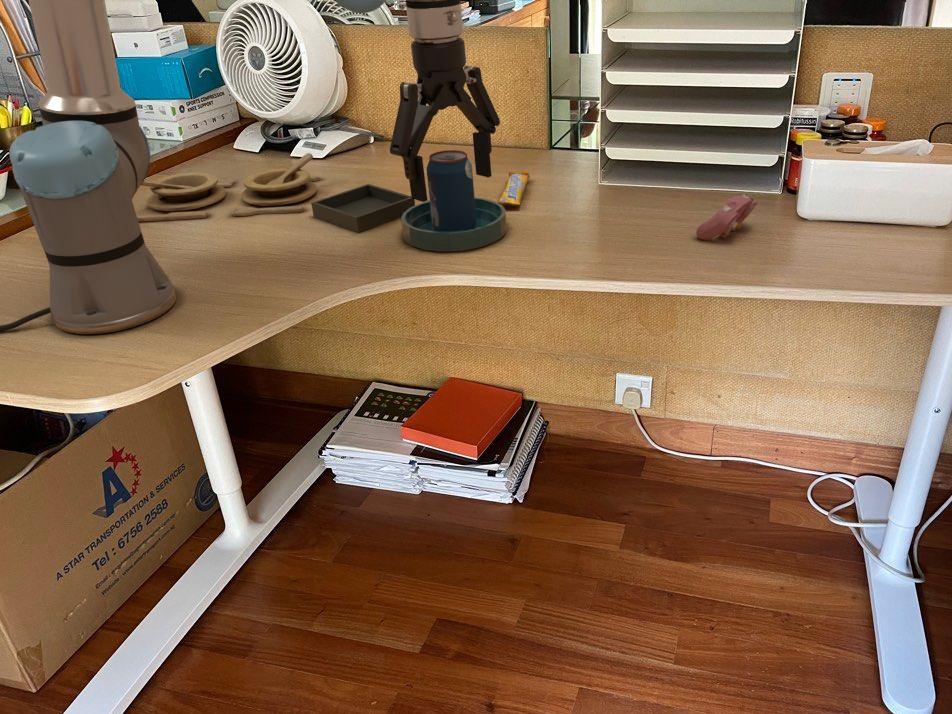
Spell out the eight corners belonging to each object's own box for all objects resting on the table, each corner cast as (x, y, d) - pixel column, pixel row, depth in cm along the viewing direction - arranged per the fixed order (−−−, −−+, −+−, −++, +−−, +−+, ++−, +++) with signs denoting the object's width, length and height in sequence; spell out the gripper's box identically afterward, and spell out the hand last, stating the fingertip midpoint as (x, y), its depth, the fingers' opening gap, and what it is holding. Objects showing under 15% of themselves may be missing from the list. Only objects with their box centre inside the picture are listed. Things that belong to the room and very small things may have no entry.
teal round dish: (454, 261, 123) (452, 241, 121) (382, 237, 132) (379, 217, 130) (527, 229, 133) (527, 209, 131) (456, 208, 142) (454, 190, 140)
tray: (358, 232, 134) (356, 217, 133) (313, 217, 141) (310, 202, 140) (416, 211, 142) (414, 197, 140) (370, 197, 149) (368, 183, 147)
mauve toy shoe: (714, 253, 126) (738, 217, 121) (691, 235, 127) (713, 199, 122) (743, 233, 132) (767, 198, 127) (721, 216, 133) (743, 180, 128)
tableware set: (132, 223, 142) (121, 188, 139) (167, 186, 158) (158, 154, 155) (309, 212, 143) (302, 178, 140) (325, 177, 160) (319, 145, 156)
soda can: (485, 227, 133) (479, 151, 127) (462, 242, 128) (455, 164, 122) (448, 221, 136) (441, 147, 130) (424, 235, 131) (415, 159, 125)
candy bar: (508, 180, 154) (508, 169, 153) (531, 180, 154) (530, 169, 153) (495, 211, 140) (494, 200, 139) (519, 211, 140) (519, 200, 139)
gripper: (385, 56, 107) (407, 215, 119) (517, 26, 123) (525, 170, 134) (349, 51, 112) (373, 205, 123) (480, 23, 127) (491, 162, 138)
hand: (452, 187), depth 129 cm, fingers open, 13 cm apart
